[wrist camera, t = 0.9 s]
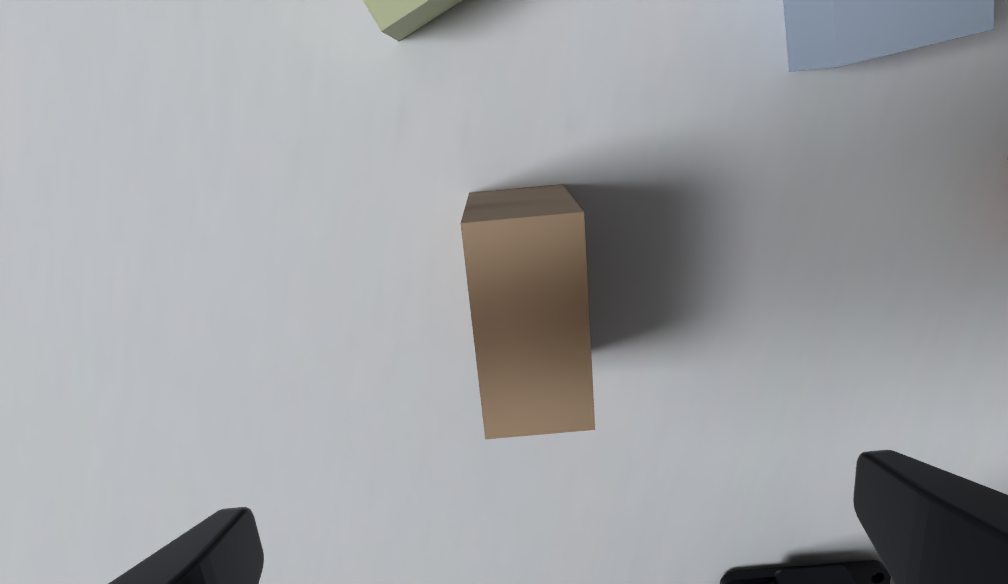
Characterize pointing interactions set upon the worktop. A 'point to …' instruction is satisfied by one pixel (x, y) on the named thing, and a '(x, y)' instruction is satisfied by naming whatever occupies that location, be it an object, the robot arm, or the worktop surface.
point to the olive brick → (405, 14)
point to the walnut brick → (529, 310)
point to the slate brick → (875, 28)
